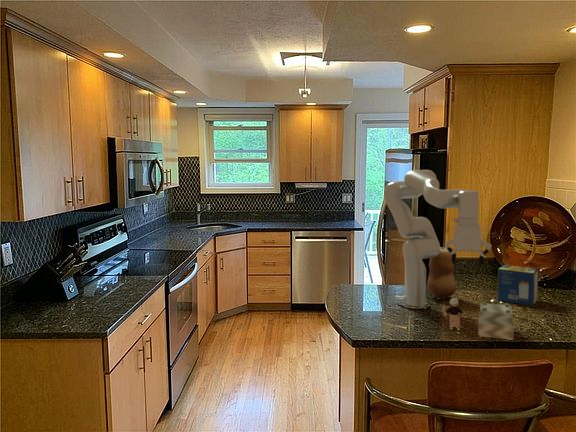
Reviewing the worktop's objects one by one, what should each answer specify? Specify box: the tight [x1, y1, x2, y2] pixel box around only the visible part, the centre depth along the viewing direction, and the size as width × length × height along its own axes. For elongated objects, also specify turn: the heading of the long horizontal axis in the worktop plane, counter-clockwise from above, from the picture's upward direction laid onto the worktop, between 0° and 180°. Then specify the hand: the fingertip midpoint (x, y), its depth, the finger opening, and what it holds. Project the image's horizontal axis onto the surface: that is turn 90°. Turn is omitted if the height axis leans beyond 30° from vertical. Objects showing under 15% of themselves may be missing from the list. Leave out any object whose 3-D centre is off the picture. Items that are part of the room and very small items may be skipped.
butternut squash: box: [426, 246, 457, 300], centre depth 222 cm, size 14×13×25 cm
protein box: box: [497, 264, 539, 307], centre depth 215 cm, size 10×15×16 cm
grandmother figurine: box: [443, 297, 466, 328], centre depth 180 cm, size 8×4×13 cm, turn 92°
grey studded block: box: [477, 301, 515, 341], centre depth 174 cm, size 12×12×11 cm
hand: (467, 264), depth 180 cm, fingers open, 9 cm apart
